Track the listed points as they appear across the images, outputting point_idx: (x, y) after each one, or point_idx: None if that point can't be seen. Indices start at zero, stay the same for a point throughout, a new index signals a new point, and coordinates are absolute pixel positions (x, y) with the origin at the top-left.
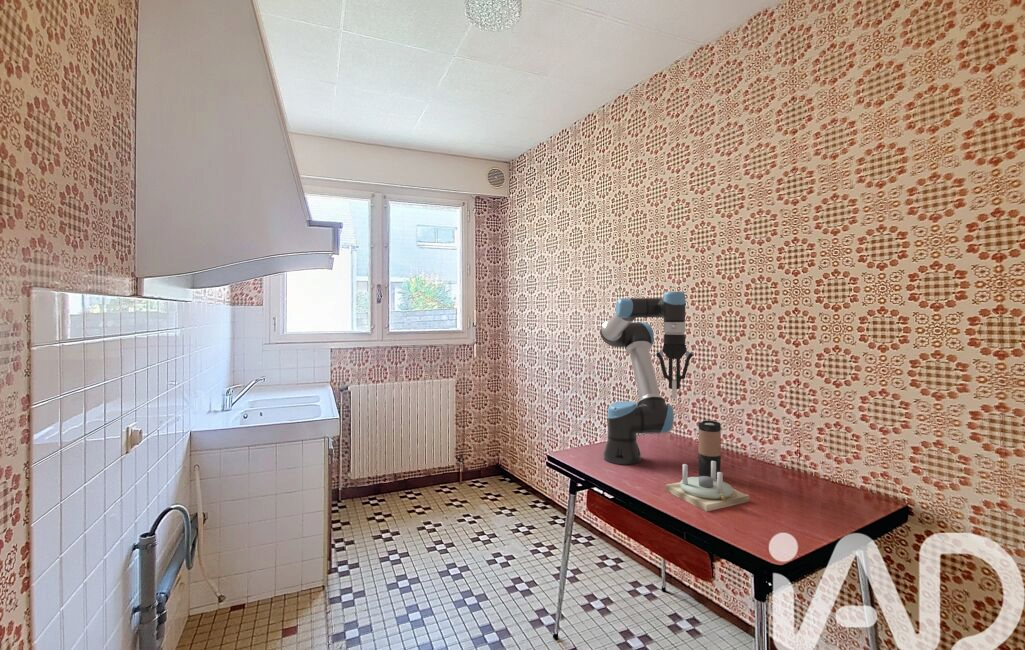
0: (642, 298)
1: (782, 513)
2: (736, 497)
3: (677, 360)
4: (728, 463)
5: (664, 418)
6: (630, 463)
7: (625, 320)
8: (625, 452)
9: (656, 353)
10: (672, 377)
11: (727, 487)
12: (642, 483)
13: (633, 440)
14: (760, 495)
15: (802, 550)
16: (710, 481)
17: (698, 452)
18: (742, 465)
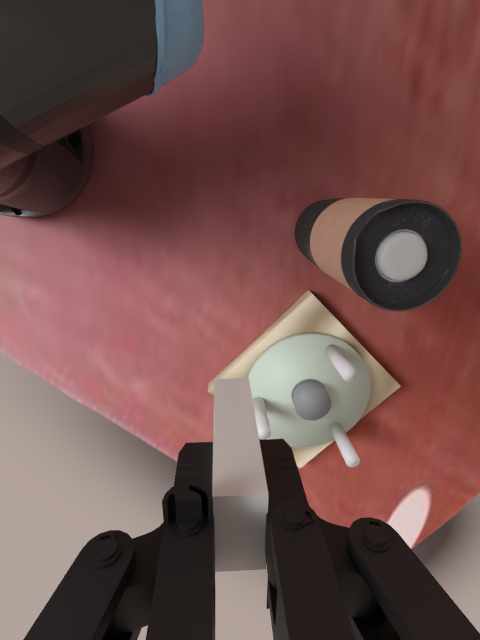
0: None
1: (445, 414)
2: (369, 407)
3: None
4: (408, 47)
5: (148, 75)
6: (67, 204)
7: None
8: (30, 205)
9: None
10: (213, 542)
11: (359, 388)
12: (144, 357)
13: (32, 165)
14: (430, 331)
15: (426, 532)
16: (322, 415)
17: (310, 245)
18: (453, 56)
